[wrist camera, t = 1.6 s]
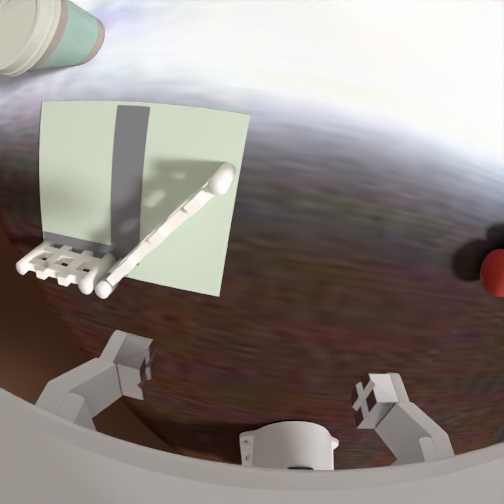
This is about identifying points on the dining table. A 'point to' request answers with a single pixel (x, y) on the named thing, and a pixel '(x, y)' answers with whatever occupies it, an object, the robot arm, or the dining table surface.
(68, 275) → the fence fixed
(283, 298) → the dining table surface
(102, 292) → the white toy fence
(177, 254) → the card
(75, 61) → the coffee cup
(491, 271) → the kendama
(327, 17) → the dining table surface
